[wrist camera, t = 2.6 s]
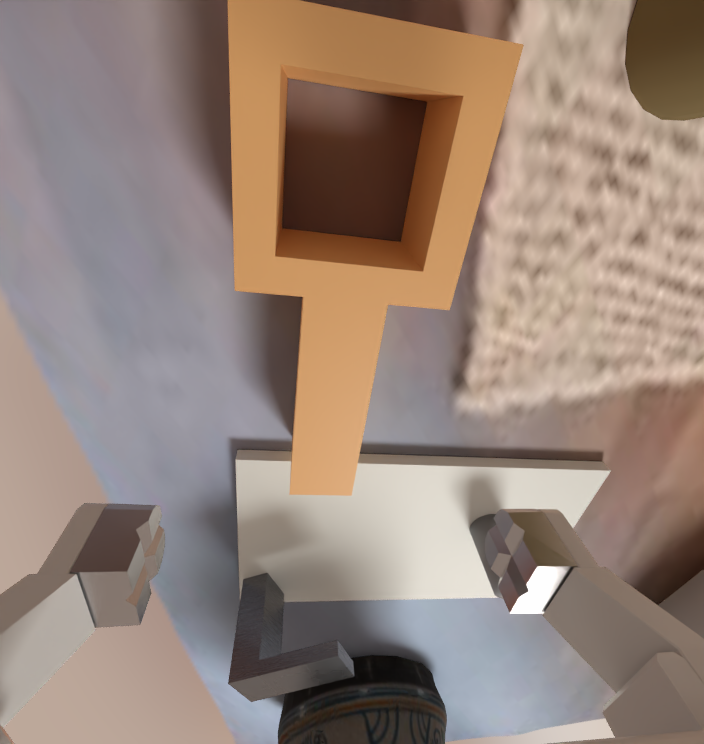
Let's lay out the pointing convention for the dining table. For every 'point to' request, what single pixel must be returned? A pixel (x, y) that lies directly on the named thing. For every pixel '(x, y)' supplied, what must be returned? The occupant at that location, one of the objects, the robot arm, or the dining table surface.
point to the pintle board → (394, 523)
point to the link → (349, 253)
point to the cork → (667, 58)
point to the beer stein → (368, 707)
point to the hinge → (688, 604)
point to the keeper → (277, 648)
